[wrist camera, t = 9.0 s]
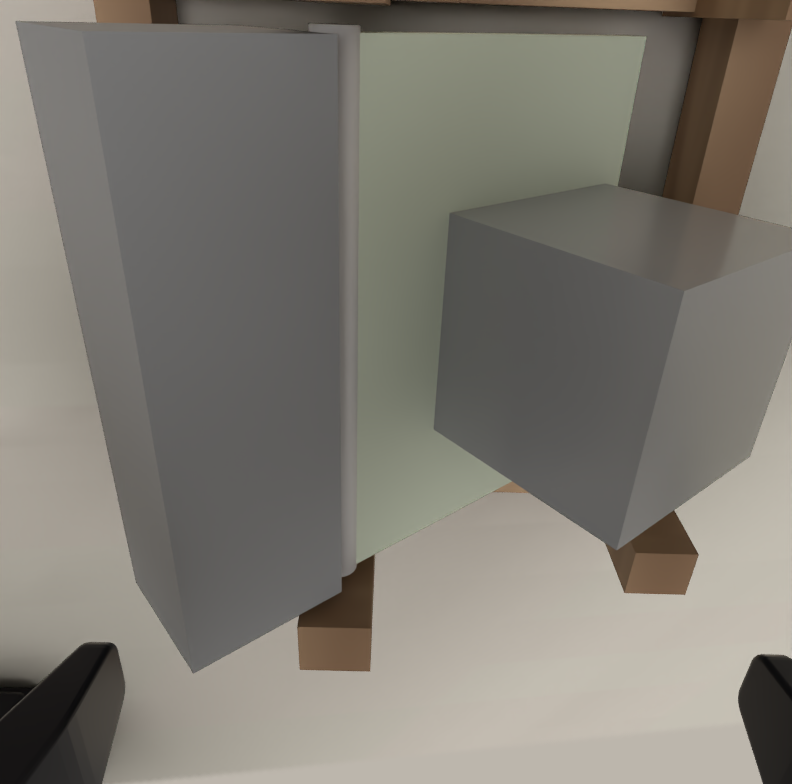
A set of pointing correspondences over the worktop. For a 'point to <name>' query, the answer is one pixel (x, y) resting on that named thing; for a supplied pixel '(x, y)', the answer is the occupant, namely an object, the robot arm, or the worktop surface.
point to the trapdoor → (291, 277)
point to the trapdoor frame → (686, 181)
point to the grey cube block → (611, 347)
